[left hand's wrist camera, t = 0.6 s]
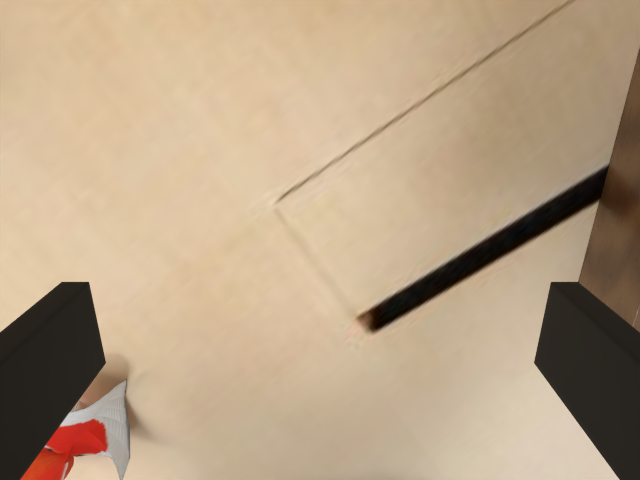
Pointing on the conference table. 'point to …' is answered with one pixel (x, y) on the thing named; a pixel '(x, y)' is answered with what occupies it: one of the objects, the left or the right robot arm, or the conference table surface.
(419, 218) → the conference table surface
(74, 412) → the fish
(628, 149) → the beam
